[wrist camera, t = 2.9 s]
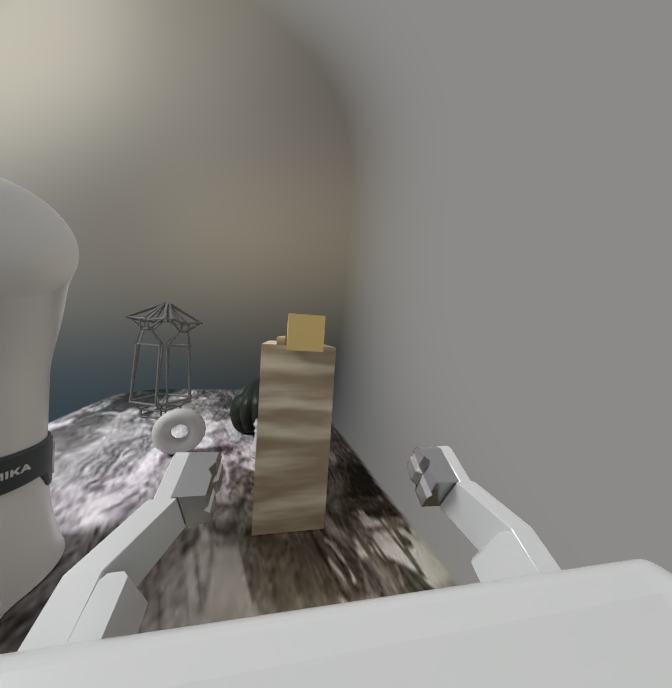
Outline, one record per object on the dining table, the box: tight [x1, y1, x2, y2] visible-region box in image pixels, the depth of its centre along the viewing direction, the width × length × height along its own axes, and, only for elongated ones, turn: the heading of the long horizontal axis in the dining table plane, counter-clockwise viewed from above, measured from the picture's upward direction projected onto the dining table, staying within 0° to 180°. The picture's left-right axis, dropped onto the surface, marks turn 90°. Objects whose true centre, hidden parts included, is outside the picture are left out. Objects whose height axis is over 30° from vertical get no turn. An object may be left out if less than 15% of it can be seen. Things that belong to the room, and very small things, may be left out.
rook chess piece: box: [249, 419, 258, 459], centre depth 55 cm, size 4×4×8 cm
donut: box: [151, 408, 206, 455], centre depth 53 cm, size 10×4×10 cm, turn 115°
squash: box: [230, 378, 260, 433], centre depth 70 cm, size 14×15×15 cm
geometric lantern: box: [125, 302, 202, 419], centre depth 77 cm, size 16×16×35 cm
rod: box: [287, 313, 325, 352], centre depth 37 cm, size 26×4×4 cm, turn 11°
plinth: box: [251, 336, 336, 535], centre depth 42 cm, size 16×10×27 cm, turn 11°
